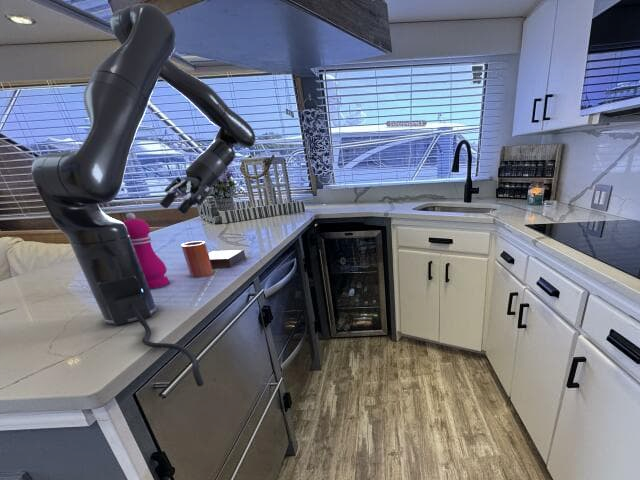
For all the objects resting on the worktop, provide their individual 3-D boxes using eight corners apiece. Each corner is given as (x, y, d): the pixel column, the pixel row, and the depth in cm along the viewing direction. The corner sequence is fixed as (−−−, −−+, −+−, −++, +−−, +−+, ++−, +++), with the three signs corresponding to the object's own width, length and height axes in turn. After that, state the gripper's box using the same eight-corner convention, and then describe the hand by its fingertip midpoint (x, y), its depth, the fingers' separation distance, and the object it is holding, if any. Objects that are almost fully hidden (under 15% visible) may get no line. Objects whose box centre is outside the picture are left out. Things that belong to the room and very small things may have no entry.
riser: (230, 267, 104) (228, 258, 103) (197, 268, 104) (194, 259, 103) (245, 258, 114) (243, 249, 113) (215, 259, 114) (212, 251, 113)
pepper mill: (134, 288, 89) (105, 214, 81) (160, 279, 95) (135, 210, 87) (151, 290, 86) (122, 215, 78) (176, 282, 92) (153, 210, 84)
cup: (216, 273, 98) (207, 243, 95) (193, 278, 95) (183, 247, 91) (210, 269, 103) (202, 240, 99) (188, 274, 99) (179, 244, 95)
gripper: (182, 156, 98) (145, 195, 92) (213, 162, 93) (175, 204, 87) (200, 176, 104) (167, 213, 99) (230, 182, 99) (196, 222, 94)
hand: (171, 208), depth 93 cm, fingers open, 8 cm apart
